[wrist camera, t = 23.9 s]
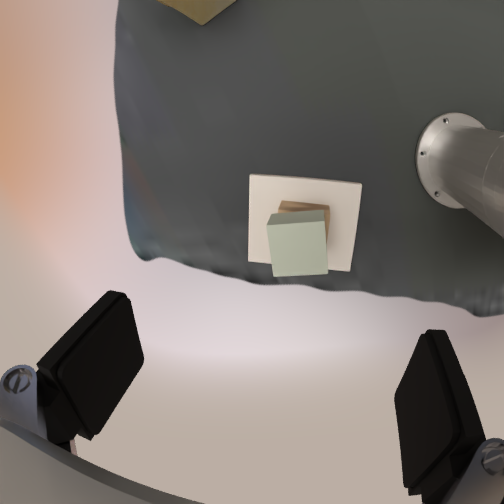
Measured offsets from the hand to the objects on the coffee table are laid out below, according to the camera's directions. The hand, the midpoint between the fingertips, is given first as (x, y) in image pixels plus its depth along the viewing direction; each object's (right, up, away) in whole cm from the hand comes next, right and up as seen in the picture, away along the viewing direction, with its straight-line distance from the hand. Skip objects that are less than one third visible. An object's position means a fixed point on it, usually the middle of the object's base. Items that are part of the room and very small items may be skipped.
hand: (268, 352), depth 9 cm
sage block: (+5, +5, +27) cm, 28 cm away
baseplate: (+6, +7, +32) cm, 33 cm away
